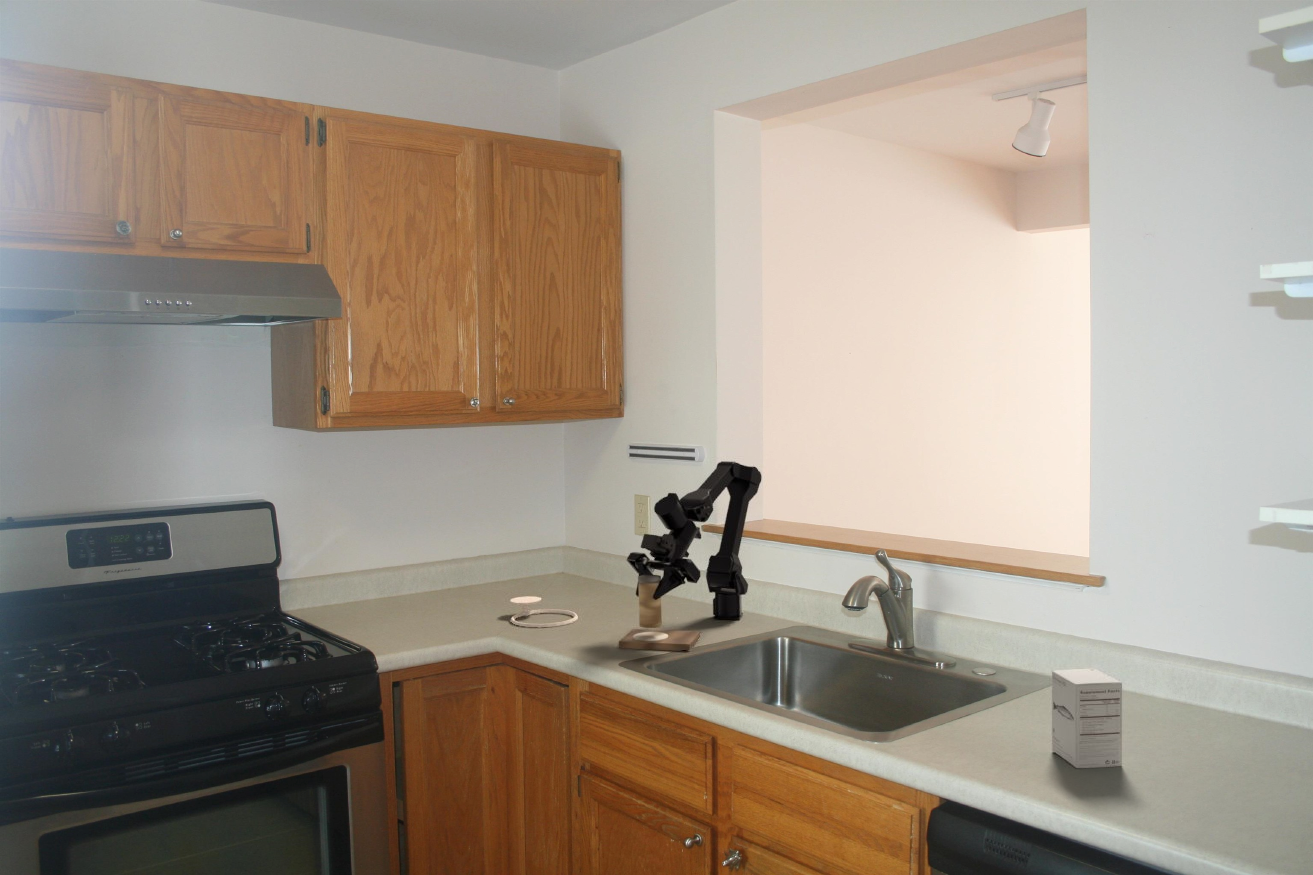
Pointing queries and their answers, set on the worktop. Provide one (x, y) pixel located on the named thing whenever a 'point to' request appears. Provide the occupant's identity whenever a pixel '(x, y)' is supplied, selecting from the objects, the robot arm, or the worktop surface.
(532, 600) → the hand towel holder
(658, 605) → the tan jar with lid
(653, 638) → the walnut board
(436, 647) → the worktop surface
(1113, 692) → the supplement box
